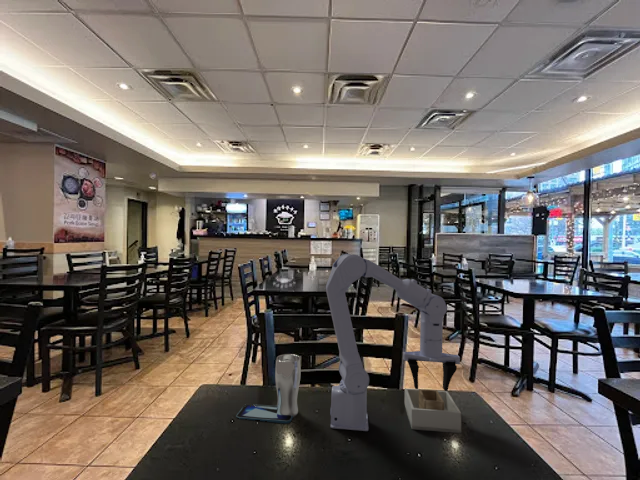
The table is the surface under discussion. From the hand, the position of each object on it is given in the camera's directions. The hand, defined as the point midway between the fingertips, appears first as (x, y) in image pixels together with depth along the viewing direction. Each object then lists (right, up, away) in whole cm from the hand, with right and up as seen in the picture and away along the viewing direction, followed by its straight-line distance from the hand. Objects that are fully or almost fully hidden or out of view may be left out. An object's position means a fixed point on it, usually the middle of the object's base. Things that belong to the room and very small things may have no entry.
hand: (430, 388), depth 85 cm
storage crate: (0, -8, 0) cm, 8 cm away
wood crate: (0, -7, 0) cm, 7 cm away
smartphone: (-45, -8, +1) cm, 45 cm away
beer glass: (-39, -8, +1) cm, 40 cm away
